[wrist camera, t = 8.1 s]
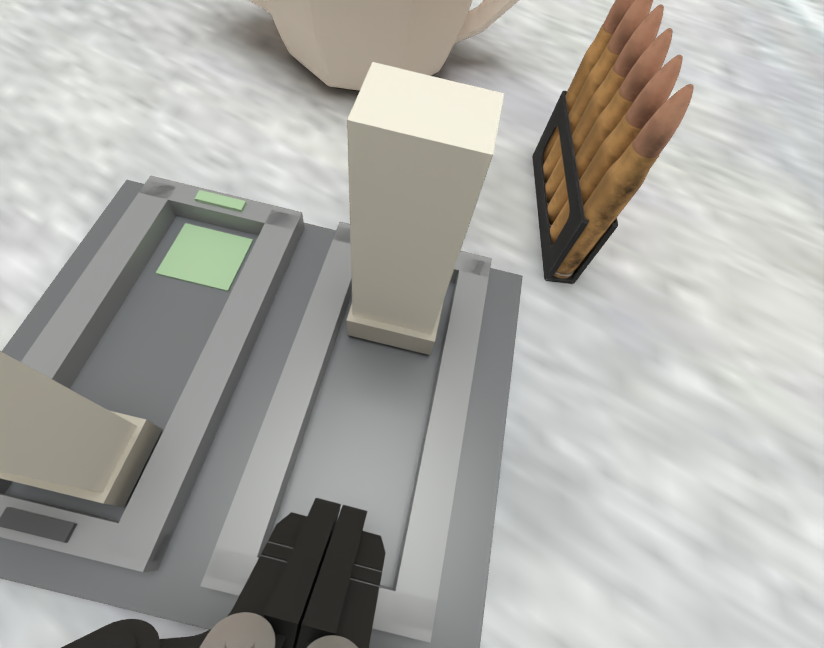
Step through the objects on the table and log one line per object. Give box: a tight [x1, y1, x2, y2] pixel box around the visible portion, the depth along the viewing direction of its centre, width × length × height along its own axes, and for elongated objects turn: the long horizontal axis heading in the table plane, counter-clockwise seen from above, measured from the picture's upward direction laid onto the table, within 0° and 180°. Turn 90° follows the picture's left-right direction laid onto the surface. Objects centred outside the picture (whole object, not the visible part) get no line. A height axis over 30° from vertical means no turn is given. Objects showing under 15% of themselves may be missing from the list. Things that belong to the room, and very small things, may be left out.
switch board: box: [0, 176, 522, 648], centre depth 20 cm, size 22×18×3 cm
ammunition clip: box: [533, 0, 694, 283], centre depth 23 cm, size 11×2×12 cm, turn 177°
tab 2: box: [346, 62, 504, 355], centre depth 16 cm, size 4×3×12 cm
